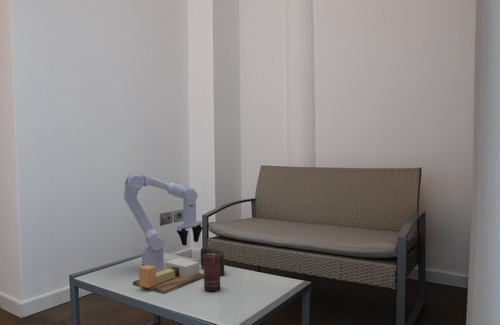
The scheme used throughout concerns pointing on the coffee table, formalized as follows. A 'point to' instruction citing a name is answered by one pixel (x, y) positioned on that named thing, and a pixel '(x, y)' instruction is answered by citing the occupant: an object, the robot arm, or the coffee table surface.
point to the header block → (184, 267)
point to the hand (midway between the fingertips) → (190, 243)
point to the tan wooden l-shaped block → (154, 276)
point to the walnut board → (172, 283)
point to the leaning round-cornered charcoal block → (205, 250)
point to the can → (211, 271)
